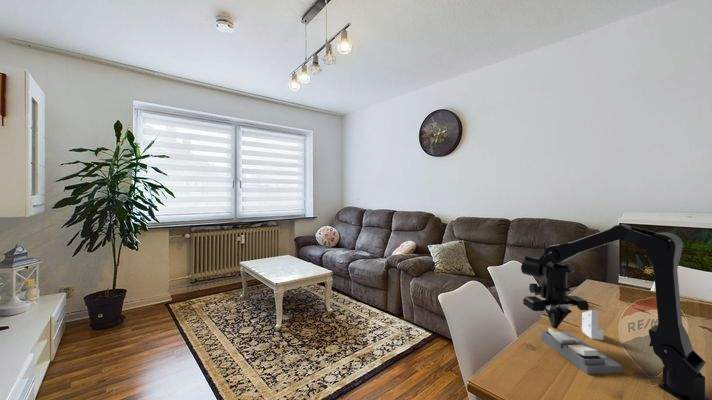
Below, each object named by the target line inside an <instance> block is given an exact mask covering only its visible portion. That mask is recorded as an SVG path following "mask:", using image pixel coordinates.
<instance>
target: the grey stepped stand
mask: <svg viewBox="0 0 712 400" xmlns="http://www.w3.org/2000/svg"><path fill="white" fill-rule="evenodd" d="M566 333H567V334H568V335H569V336H570V337H571V338H572V339H574V343H561V342H559V341H558V340H556V339H555V338H554V337H553V336H552V335H551V334H550V333H549V332H548V330H546V331H544V330H543V331H542V333H540V340H541V341H542V342H544V343H545V344H546V345H547V346H549V347H550V348H552V349H553V350H554V351H556V352H557V353H559V355H561V356H563V358H565V359H567V360H568V361H569V362H570V363H572V365H575V366H576V367H578V368H579V369H580V370H581V371H582V372H584V373H585V374H587V375H595V374H622V373H623V365H621V364H620V363H618V362H617V361H615V360H613V359H612V358H610V357H609V356H607V355H606V354H604V353H602V352H601V351H599V350H597V348H594V347H593V346H592V345H589V344H588V343H586V342H584V341H583V340H581V339H579V338H578V337H577V336H574V335H573V334H571V333H570V332H566ZM568 345H583V346H586V347H589V348H592V349H595V350H597V352H598V356H583V355H581V354H578V353H575V352H574V351H572V350H571V349H569V348H568Z"/></svg>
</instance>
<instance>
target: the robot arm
mask: <svg viewBox="0 0 712 400" xmlns="http://www.w3.org/2000/svg"><path fill="white" fill-rule="evenodd" d="M620 240H621V241H624V242H626V243H628V244H631V245H633V246H635V247H639V248H642V249H644V250H645V253H646V257H647V259H648V261H649V263H650V265H651V266H652V268H653V269H652V270H653V274H654V288H655V299H656V309H657V311H656V312H657V321H658V322H657V324H654V325H653V326H652V327H650V328H649V329H648V335H649V338H650V341H649V344H648V346H649V347H652V351H653V353H654V354H655V355H656V356H657V357H658V358H659V359H660V360H661V363H662V364H663V367H662V383H658V384H657V386H658V387H659V388H661V389H663V390H664V391H666V392H667V393H670V395H672V396H674V397H676V398H677V399H678V400H711V398H709V397H707V396H706V376H704V375H703V374H702V373H701V371H702V369H703V368H704V366H705V365H706V364H707V362H706V360H704V358H702V357H701V356H700V355H699V354H698V353H697V352H696V351H695V350H694V349H693V346H692V342H691V340H690V336H689V333H688V332H687V330H686V329H685V327H684V325H683V318H682V308H681V307H682V306H681V296H680V295H681V294H680V284H679V274H678V267H679V265H680V261H681V258H682V252H683V245H684V243H683V240H682V239H681V237H679V236H678V235H676V234H674V233H672V232H665V231H664V232H656V231H652V230H648V229H642V228H639V227H635V226H631V225H628V224H624V223H622V224H616V225H613V226H612V227H609V228H608V229H604V230H602V231H599V232H596V233H593V234H591V235H587V236H586V237H582V238H579V239H577V240H574V241H570V242H564V243H558V244H552V245H549V246H547V247H545V249H544V253H543V254H542V255H541V256H540V257H535V256H532V255H525V256H524V260H523V261H522V264H521V266H520V270H521V273H522V274H523V275H527V276H529V277H530V276H531V277H534V278H538V279H543V278H544V277H545V282H543V283H542V285H538V283H529V288H528V289H529V293H531V294H534V295H533V296H532V295H531V296H530V295H529V296H527V295H526V296H525V297H523V299H522V300H523V301H522V302H523V303H522V304H523V305H524V306H526V307H527V308H529V309H530V310H531V311H534V312H544V311H545V312H546V314H547V317H548V320H549V322H550V326H551V328H554V329H557V328H559V327H560V325H561V324H562V322H563V321H564V319H566V317H567V316H569V314H572V313H573V312H572V310H571V309H570V307H571V306H572V307H573V306H577V307H576V308H577V309H578V310H580V311H590V304H589V301H587V300H586V299H584V298H582V297H579V296H578V295H567V294H568V293H567V292H570V290H571V289H570V287H568V274H571V273H574V272H576V269H575V268H574V267H573V266H572V265H571V264H570V263H566V264H565V265H564V264H562V263H564V262H567V261H569V260H571V259H572V258H575V257H577V256H578V255H580V254H581V253H583V252H586V251H589V250H592V249H595V248H599V247H602V246H605V245H609V244H611V243H614V242H617V241H620ZM560 263H561V264H560ZM538 296H540V298H538ZM541 298H542V299H541Z"/></svg>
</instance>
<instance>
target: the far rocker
mask: <svg viewBox="0 0 712 400" xmlns="http://www.w3.org/2000/svg"><path fill="white" fill-rule="evenodd" d="M547 331H548V332H549V333H550V334H551V335H552V336H553V337H554V338H555V339H556V340H558V341H559V342H561V343H574V339H572V338H571V337H570V336H569V335H568V334H567V333H568V332H566V331H565V330H563V329H562V328H561V327H557V329H554V328H553V327H548V330H547Z"/></svg>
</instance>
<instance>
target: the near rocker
mask: <svg viewBox="0 0 712 400" xmlns="http://www.w3.org/2000/svg"><path fill="white" fill-rule="evenodd" d="M568 348H569V349H571V350H572V351H574V352H575V353H578V354H581V355H583V356H598V352H597V351H598V349H596V348H594V349H592V348H589V347H586V346H583V345H568ZM595 349H596V350H595Z"/></svg>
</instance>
